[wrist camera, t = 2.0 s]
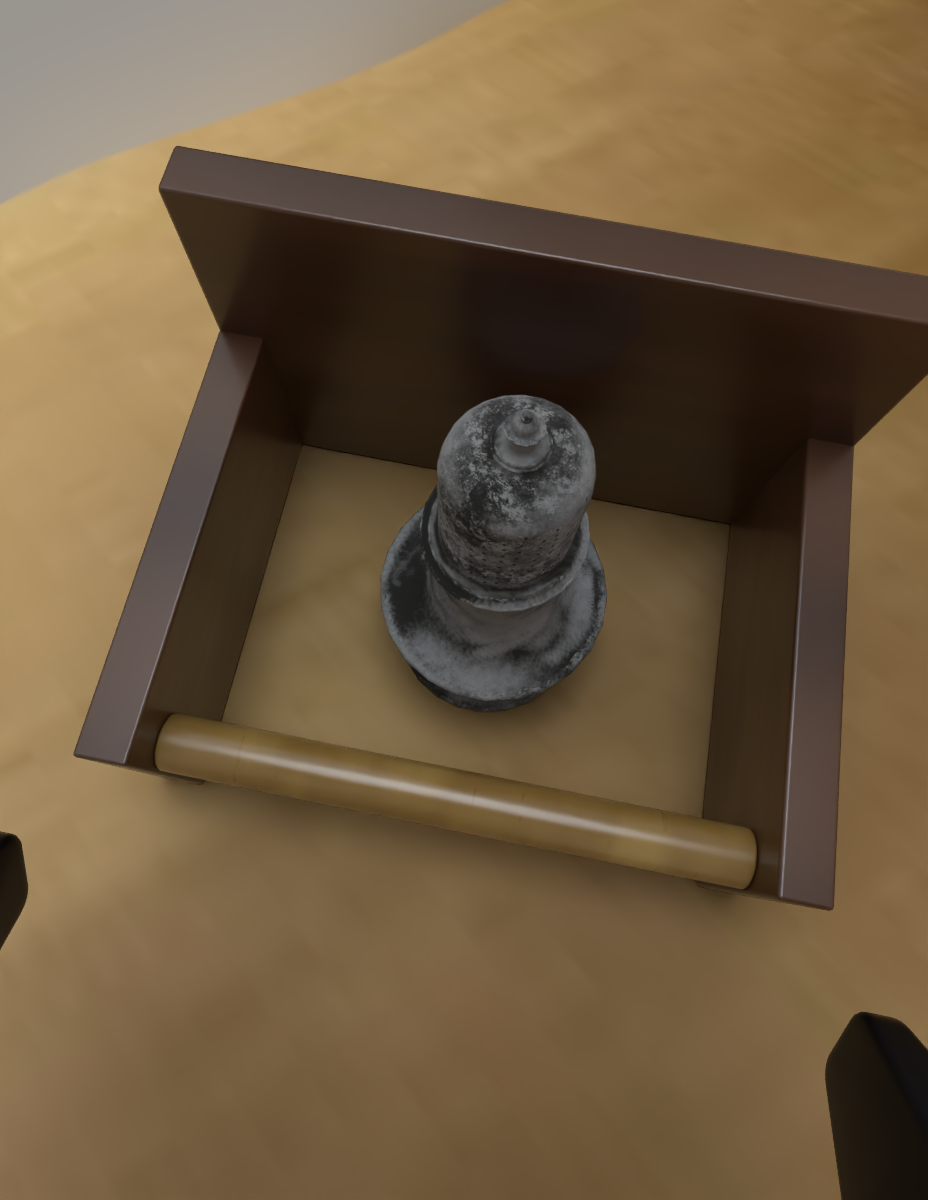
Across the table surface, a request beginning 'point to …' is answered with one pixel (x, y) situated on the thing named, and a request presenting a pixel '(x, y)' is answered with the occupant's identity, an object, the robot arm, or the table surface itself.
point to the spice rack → (623, 475)
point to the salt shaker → (499, 559)
